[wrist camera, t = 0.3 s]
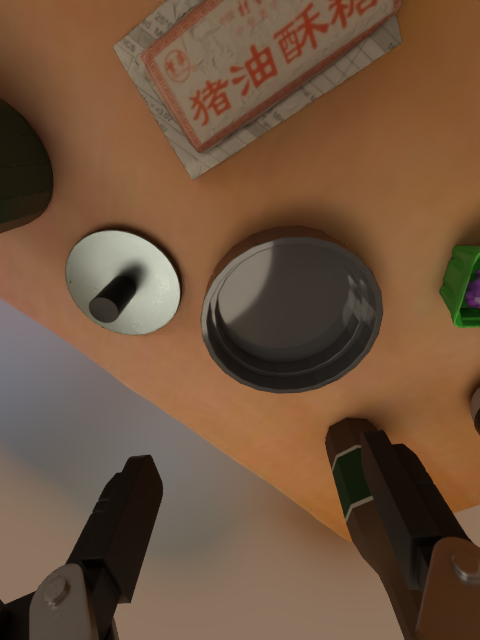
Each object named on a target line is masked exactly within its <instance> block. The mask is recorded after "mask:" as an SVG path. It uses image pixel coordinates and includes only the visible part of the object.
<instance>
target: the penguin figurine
mask: <svg viewBox="0 0 480 640" xmlns="http://www.w3.org/2000/svg"><path fill="white" fill-rule="evenodd" d="M470 410H471V415H472V418H473V421H474V426H475V429H476V431H477V432H478V434H479V435H480V387H479V388H478V389H477V390H476V391H475V393H474V395H473V397H472V400H471V405H470Z"/></svg>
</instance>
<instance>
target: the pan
mask: <svg viewBox="0 0 480 640" xmlns="http://www.w3.org/2000/svg"><path fill="white" fill-rule="evenodd" d="M382 316H383V306H382V296H381V290H380V288H379V286H378V284H377V282H376V279H375V277H374V275H373V273H372V271H371V270H370V269H369V268H368V267H367V266H366V265H365V264H364V263H363V262H362V260H361V259H360V258H359V257H358V256H357V255H356V254H355V253H354V252H353V251H352V250H351V249H349V248H348V247H347V246H346V245H345V244H344V243H343V242H342V241H340V240H338V239H336V238H334V237H333V236H331V235H329V234H327V233H325V232H323V231H320V230H316V229H311V228H307V227H303V226H289V227H276V228H272V229H268V230H265V231H262V232H259V233H256V234H253V235H251V236H249V237H248V238H246V239H245V240H243V241H242V242H240V243H239V244H237V245H236V246H234V247H233V248H232V249H231V250H230V251H229V252H228V253H227V254H226V255H225V256H224V257H223V259H222V260H221V261H220V262H219V263H218V265H217V266H216V268H215V270H214V272H213V274H212V276H211V279H210V281H209V283H208V286H207V290H206V294H205V297H204V302H203V308H202V314H201V328H202V335H203V341H204V343H205V345H206V347H207V349H208V351H209V353H210V356H211V357H212V359H213V360H214V361H215V362H216V363H217V365H218V366H219V367H220V368H221V369H222V370H223V372H225V373H226V374H227V375H229V376H230V377H232V378H233V379H235V380H236V381H238V382H239V383H241V384H244V385H246V386H249V387H251V388H254V389H256V390H259V391H265V392H271V393H278V394H281V393H301V392H305V391H310V390H314V389H318V388H321V387H323V386H325V385H327V384H330V383H332V382H334V381H336V380H338V379H340V378H341V377H343V376H344V375H345V374H347V373H348V372H350V371H351V370H352V369H354V368H355V367H356V366H357V365H358V364H359V363H360V362H361V360H362V359H363V358H364V357H365V356H366V355H367V354H368V353H369V351H370V349H371V348H372V346H373V344H374V342H375V340H376V338H377V336H378V334H379V330H380V326H381V321H382Z"/></svg>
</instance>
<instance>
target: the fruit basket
mask: <svg viewBox="0 0 480 640" xmlns="http://www.w3.org/2000/svg"><path fill="white" fill-rule="evenodd" d="M452 253H453V255H452V256H453V258H452V259H451V260H450V262H449V264H448V267H447V271H446V274H445V277H444V285H443V286H442V288H441V289H440V294H441V296H442V298H443V300H444V302H445V304H446V305H447V307H448V309H449V311H450V313H451V318H452V320H453V323H454V325H455V326H457V327H460V328H467V327H480V246H471V245H468V246H455V247H454V249H453V252H452Z"/></svg>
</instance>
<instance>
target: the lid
mask: <svg viewBox="0 0 480 640" xmlns="http://www.w3.org/2000/svg"><path fill="white" fill-rule="evenodd" d="M65 273H66V282H67V286H68V290H69V292H70V294H71V297H72V298H73V300H74V302H75V303H76V305H77V306H78V307H79V309H80V310H81V311H82V312H83V313H84V314H85V315H86V316H87V317H88V318H89V319H91V320H92V321H93V322H95V323H96V324H98V325H100V326H101V327H103V328H106V329H108V330H110V331H113V332H116V333H120V334H126V335H142V334H147V333H151V332H154V331H156V330H158V329H160V328H162V327H163V326H164V325H166V324H167V323H168V322H169V321H170V320H171V319H172V317H173V316H174V314H175V313H176V311H177V309H178V306H179V303H180V298H181V284H180V279H179V276H178V273H177V270H176V268H175V266H174V265H173V263H172V261H171V260H170V258H169V257H168V256H167V255H166V254H165V252H164V251H163V250H162V249H161V248H159V247H158V246H157V245H156V244H155V243H153V242H152V241H150V240H149V239H147V238H145V237H143V236H141V235H139V234H136V233H134V232H130V231H126V230H120V229H107V230H101V231H97V232H94V233H92V234H90V235H88V236H86V237H84V238H83V239H81V240H80V241H79V242H78V243H77V244H76V245H75V246H74V248H73V249H72V250H71V252H70V254H69V256H68V259H67V262H66V269H65Z"/></svg>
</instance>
